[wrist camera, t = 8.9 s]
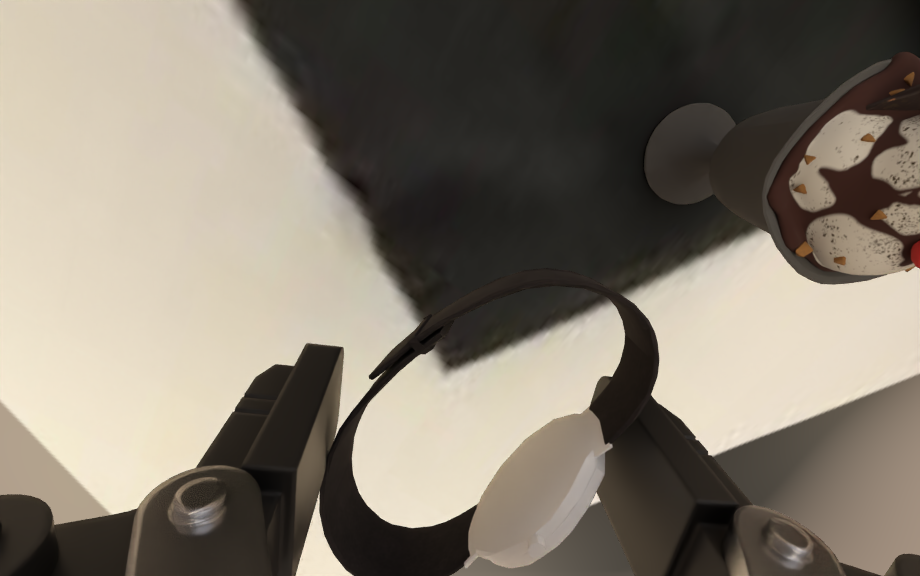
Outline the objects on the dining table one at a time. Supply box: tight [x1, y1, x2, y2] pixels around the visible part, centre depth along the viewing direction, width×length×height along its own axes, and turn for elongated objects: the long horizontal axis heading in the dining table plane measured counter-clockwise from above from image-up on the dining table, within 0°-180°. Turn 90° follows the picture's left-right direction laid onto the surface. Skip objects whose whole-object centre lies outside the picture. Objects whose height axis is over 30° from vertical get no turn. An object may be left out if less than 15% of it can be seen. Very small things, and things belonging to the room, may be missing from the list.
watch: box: [319, 268, 659, 576], centre depth 9 cm, size 8×5×4 cm, turn 137°
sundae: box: [644, 52, 920, 284], centre depth 16 cm, size 7×7×15 cm
